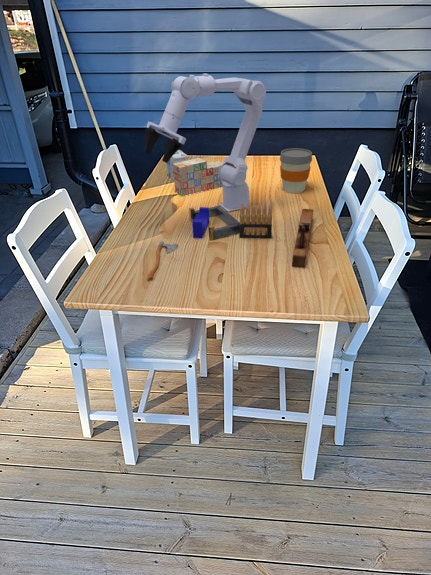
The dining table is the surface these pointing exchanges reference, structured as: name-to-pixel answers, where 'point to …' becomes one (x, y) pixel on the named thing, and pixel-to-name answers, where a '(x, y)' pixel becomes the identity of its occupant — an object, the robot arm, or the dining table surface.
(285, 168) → the reusable coffee cup
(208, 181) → the stack of blocks
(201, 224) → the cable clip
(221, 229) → the keeper cradle
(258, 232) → the ammunition clip
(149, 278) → the axe
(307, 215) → the hand plane
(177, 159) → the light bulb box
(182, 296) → the dining table surface
